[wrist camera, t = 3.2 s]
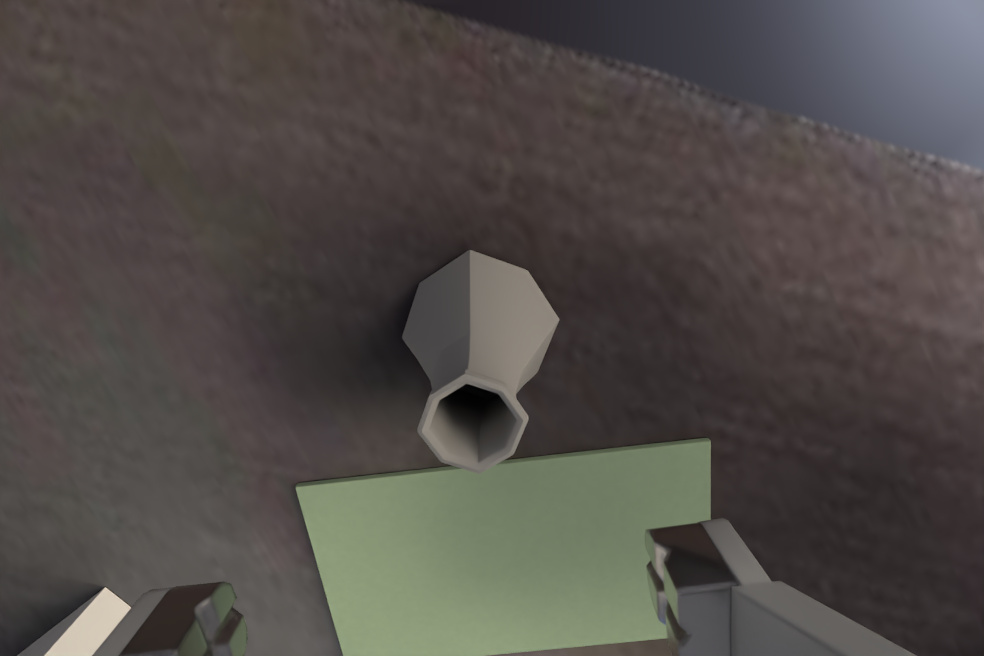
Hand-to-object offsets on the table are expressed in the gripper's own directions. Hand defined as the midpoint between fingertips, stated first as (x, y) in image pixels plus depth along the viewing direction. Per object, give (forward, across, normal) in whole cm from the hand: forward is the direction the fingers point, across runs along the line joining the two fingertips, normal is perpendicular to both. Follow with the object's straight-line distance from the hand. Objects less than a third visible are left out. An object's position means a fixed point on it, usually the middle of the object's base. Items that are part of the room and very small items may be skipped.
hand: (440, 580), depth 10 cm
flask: (+16, -1, 0) cm, 16 cm away
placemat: (+16, -1, +14) cm, 21 cm away
